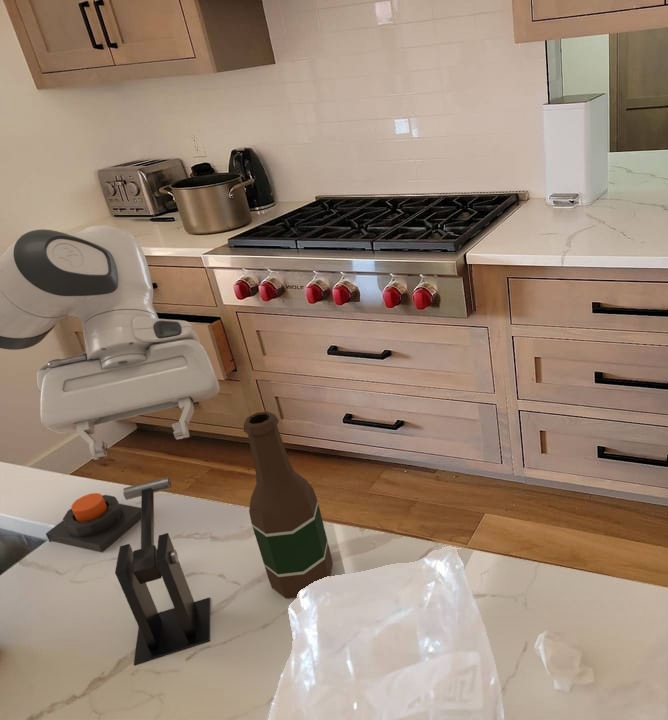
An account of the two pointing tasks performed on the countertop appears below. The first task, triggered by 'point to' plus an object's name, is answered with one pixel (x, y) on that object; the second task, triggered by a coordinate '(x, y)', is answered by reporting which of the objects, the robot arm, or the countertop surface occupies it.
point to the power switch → (170, 626)
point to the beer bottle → (284, 513)
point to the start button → (89, 507)
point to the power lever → (146, 529)
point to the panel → (96, 527)
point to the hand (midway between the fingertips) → (141, 447)
